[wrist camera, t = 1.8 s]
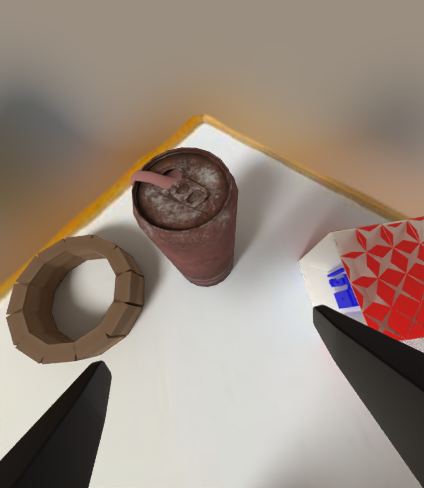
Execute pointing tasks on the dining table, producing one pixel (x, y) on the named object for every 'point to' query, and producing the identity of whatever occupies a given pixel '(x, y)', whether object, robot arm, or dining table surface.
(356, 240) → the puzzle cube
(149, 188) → the can
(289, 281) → the dining table surface
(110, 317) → the walnut ring
